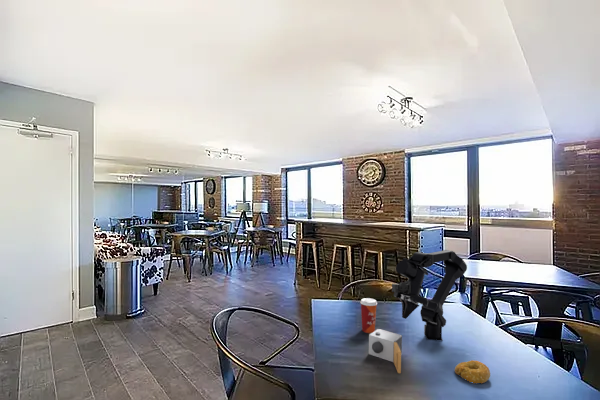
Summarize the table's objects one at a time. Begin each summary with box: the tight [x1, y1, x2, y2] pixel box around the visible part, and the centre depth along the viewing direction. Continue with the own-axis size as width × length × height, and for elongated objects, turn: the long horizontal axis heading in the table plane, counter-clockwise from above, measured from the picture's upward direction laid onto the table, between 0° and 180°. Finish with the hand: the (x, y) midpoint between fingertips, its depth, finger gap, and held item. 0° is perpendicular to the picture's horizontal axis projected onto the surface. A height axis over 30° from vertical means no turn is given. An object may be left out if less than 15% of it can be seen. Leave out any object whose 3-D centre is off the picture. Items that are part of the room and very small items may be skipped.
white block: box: [368, 328, 403, 363], centre depth 130 cm, size 9×10×8 cm
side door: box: [393, 341, 402, 374], centre depth 120 cm, size 8×1×8 cm, turn 175°
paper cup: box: [359, 297, 378, 334], centre depth 154 cm, size 8×8×14 cm
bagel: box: [454, 360, 491, 384], centre depth 115 cm, size 10×11×5 cm
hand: (404, 318), depth 137 cm, fingers closed
